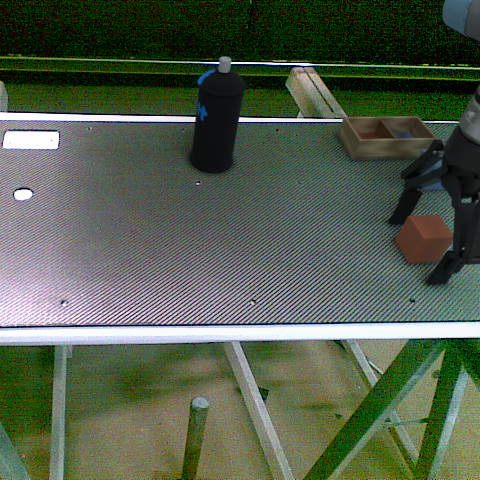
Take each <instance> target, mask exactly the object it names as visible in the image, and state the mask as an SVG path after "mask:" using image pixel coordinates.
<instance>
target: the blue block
mask: <svg viewBox="0 0 480 480" xmlns="http://www.w3.org/2000/svg"><path fill="white" fill-rule="evenodd" d="M427 150H428V149H422V150H421V152H420V154H419V156H418V157H420V156H421V155H422V154H423V153H424V152H426V151H427ZM441 166H442V159H441V160H440V161H439V162H437V163H436V164H435V165H434V166H432V167H431V168H430V169H429V170H427V171H426V172H425V173H423V174H422V175H424V174H427V173H430V171H432V170H435V169H437V168H440V167H441ZM422 175H421V176H422ZM424 188H425V189H421V191H429V190H431V191H432V190H434V191H435V190H445V189H444V188H443V187H442V186H441V182H439V183H436V184H433V185H430V186H427V187H424Z"/></svg>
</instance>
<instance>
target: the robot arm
mask: <svg viewBox="0 0 480 480" xmlns="http://www.w3.org/2000/svg"><path fill="white" fill-rule="evenodd" d="M441 17H442V20H443V21H442V22H444V24H445V25H446V26H448V27H449V28H451V29H453V30H455V31H456V32H457V33H460V34H462V36H464V37H469V38H472V39H474V40H475V41H478V42H480V0H444V2H443V6H442V14H441ZM441 159H442V166H441V167H440V168H437V169H435V170H432V171H430V173H427V174H424V175H422V174H423V173H425V172H426V171H427V170H429V169H430V168H431V167H432V166H434V165H435V164H436V163H437V162H439V161H440V160H441ZM421 175H422V176H421ZM399 176H400V179H401V180H404V182H403V190H402V192H401V194H400V196H399V198H398V201H397V202H398V203H397V205H396V207H395V208H394V210H393V212H392V214H391V216H390V218H389V220H388V221H389V223H390V224H392V225H395V224H398V225H399V224H404V223H405V221H406V219H407V217H408V216H412V214H413V213H414V210H415V208H416V207H417V205H418V203H419V201H420V200H421V198H422V196H423V194H424V193H423V191H422V189H425V188H424V187H427V186H430V185H433V184H436V183H439V182H441V186H442V187H443V188H444V189H443V190H445V191H446V192H447V194H448V196H449V197H450V198H451V208H452V209H454V213H453V215H454V217H453V232H452V233H453V241H452V250H451V249H449V250H448V249H447V250H446V252H445V253H444V255H443V256H442V258H441V259H440V260H439V262H437V265H436V266H435V267H434V269H433V271H432V272H431V273H430V275H429V276H428V277H427V279H426V282H427V284H428V285H440V284H443V285H444V284H447V283H448V281H449V280H450V279H451V277H452V276H453V275H456V274H459V273H460V272H461V270H463V268H464V267H465V266H468V265H469V266H471V265H480V84H479V85H478V86H477V88H476V90H475V92H474V93H473V95H472V96H471V98H470V101H469V102H468V104H467V105H466V108H465V109H464V111H463V113H462V115H461V116H460V118H459V120H458V124H457V125H456V126H455V127H454V129H453V130H452V132H451V133H450V135H449V137H448V138H438V139H435V140H433V142H432V143H431V145H430V146H429V148H428V150H427V151H426V152H424V153H423V154H422V155H421V156H420V157H418V158H415V160H414V161H413V162H412V163H410V164H409V165H407V166H406V167H405V168H404V169H403V170H402V171H401V172H400V174H399ZM468 199H471V200H470V201H469V202H463V200H468Z"/></svg>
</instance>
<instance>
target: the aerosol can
mask: <svg viewBox="0 0 480 480" xmlns="http://www.w3.org/2000/svg"><path fill="white" fill-rule="evenodd" d="M231 65H232V58H231V57H230V56H224V55H223V56H221V57H219V60H218V67H217V68H213V69H212V68H211V69H210V70H208V71H206V72H205V73H204V74H202V75H201V76H200V77H199V78H198V80H197V86H198V90H197V100H196V110H195V120H194V127H193V128H194V129H193V138H192V149H191V154H190V156H189V160H190V163H191V165H192V166H193V167H195V168H196V169H197V170H199V171H201V172H205V173H210V174H219V173H223V172H225V171H228V170H229V169H230V168H232V166H233V164H234V160H233V159H234V158H233V155H234V149H235V143H236V138H237V133H238V127H239V121H240V117H241V116H240V115H241V110H242V105H243V99H244V94H245V91H246V90H247V83H246V81H245V80H244V79H243V77H242V76H241V75H240V73H238V72H237V71H235V70H232V69H231Z"/></svg>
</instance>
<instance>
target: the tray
mask: <svg viewBox="0 0 480 480" xmlns="http://www.w3.org/2000/svg"><path fill="white" fill-rule="evenodd" d="M336 136H337V138H338V139H339V142H341V144H342V146H343V147H344V149H345V150H346V152H347V153H348V155H349V157H350V159H351V160H352V161H356V160H358V161H363V160H364V161H365V160H409V159H411V160H413V159H415V160H416V159H417V158H418V156H419V154H420V152H421V150H422V149H428V148H429V146H430V145H431V143H432V142H433V140H435V139H439V137H438V136H437V135H436V134H435V133H434V132H433V131H432V130H431V129H430V128H429V126H428V125H427V124H426V123H425V121H423V119H421V117H420V116H418V115H407V116H406V115H403V116H402V115H401V116H399V115H398V116H397V115H395V116H391V115H390V116H343V118H342V121H341V123H340V127H339V129H338V132H337V134H336Z"/></svg>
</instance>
